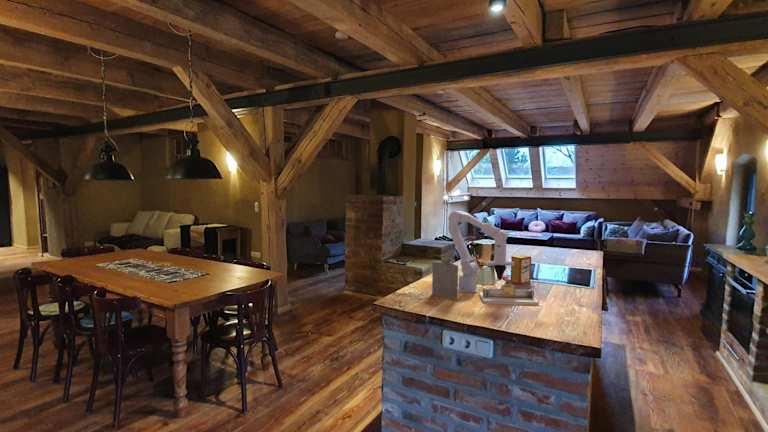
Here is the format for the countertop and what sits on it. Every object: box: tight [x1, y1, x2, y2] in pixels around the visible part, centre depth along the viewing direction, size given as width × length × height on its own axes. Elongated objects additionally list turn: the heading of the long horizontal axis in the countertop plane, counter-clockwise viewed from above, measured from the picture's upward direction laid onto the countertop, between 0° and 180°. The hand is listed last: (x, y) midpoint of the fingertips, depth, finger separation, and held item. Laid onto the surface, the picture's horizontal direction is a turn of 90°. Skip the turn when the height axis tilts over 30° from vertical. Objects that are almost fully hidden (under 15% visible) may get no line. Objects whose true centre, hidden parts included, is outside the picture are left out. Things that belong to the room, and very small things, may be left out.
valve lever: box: [502, 274, 512, 284], centre depth 197 cm, size 12×3×2 cm, turn 176°
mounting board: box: [478, 291, 540, 306], centre depth 193 cm, size 26×14×2 cm, turn 85°
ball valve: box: [482, 282, 535, 299], centre depth 193 cm, size 24×6×7 cm, turn 85°
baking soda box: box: [510, 254, 532, 286], centre depth 226 cm, size 10×6×16 cm
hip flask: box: [431, 257, 459, 302], centre depth 197 cm, size 16×4×20 cm, turn 40°
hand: (499, 279), depth 200 cm, fingers closed
